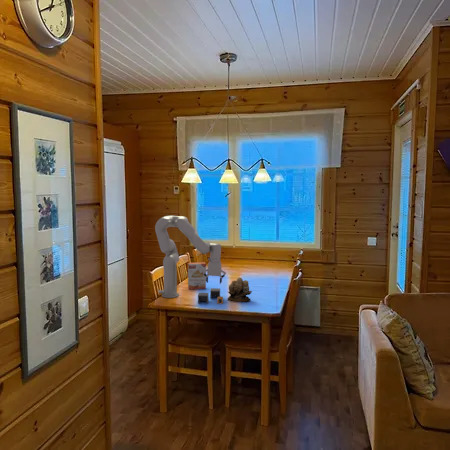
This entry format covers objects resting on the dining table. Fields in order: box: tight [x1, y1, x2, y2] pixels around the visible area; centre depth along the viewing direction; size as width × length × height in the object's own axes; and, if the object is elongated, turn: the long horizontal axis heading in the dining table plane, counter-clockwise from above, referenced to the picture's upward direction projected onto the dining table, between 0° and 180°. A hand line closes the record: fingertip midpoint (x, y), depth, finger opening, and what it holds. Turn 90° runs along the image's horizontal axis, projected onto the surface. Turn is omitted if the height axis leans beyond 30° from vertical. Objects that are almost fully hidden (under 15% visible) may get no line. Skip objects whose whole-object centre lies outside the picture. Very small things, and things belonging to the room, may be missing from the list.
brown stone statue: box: [227, 277, 253, 303], centre depth 298 cm, size 18×12×17 cm, turn 75°
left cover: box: [197, 292, 209, 305], centre depth 292 cm, size 7×7×6 cm
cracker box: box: [187, 261, 207, 290], centre depth 330 cm, size 14×6×21 cm, turn 101°
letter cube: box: [216, 296, 224, 305], centre depth 291 cm, size 4×4×4 cm
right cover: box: [209, 287, 221, 300], centre depth 305 cm, size 7×7×6 cm
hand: (213, 282), depth 304 cm, fingers open, 9 cm apart
